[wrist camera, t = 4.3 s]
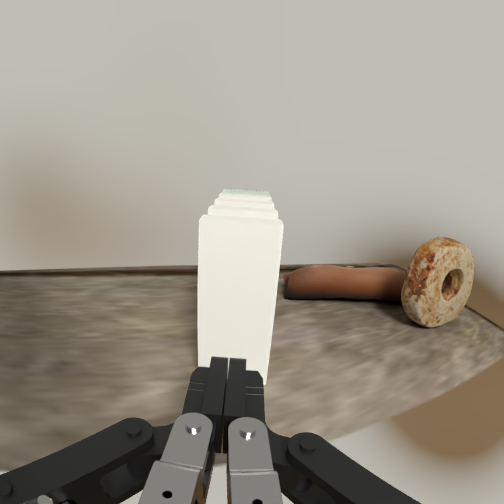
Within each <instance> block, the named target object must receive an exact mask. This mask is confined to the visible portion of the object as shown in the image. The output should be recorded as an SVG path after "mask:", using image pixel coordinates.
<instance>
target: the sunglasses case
mask: <svg viewBox="0 0 504 504" xmlns="http://www.w3.org/2000/svg"><path fill="white" fill-rule="evenodd" d="M406 277H407V273H406V272H403V271H400V270H395V269H390V268H380V267H368V268H355V267H353V266H347V267H338V266H334V265H329V264H319V265H312V266H308V267H304V268H301V269H297V270H295V271H294V272H293V273H290V274H287V275H284V277H283V278H284V280H285V292H286V296H285V299H287V298H288V297H289V298H293V299H299V298H303V299H309V298H317V299H319V298H339V297H344V298H353V299H378V300H399V301H401V292H402V287H403V285H404V280H405V279H406Z"/></svg>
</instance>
